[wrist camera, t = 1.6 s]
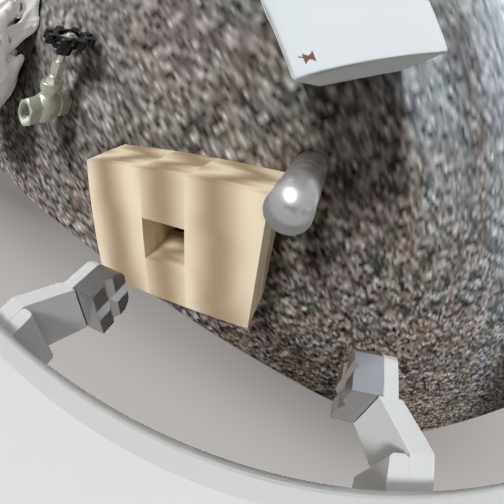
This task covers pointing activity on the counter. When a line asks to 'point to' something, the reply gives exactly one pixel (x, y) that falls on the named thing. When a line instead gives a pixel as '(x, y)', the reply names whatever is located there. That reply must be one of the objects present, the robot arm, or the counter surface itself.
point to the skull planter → (14, 40)
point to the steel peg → (296, 195)
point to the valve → (54, 78)
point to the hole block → (185, 227)
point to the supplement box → (353, 37)
